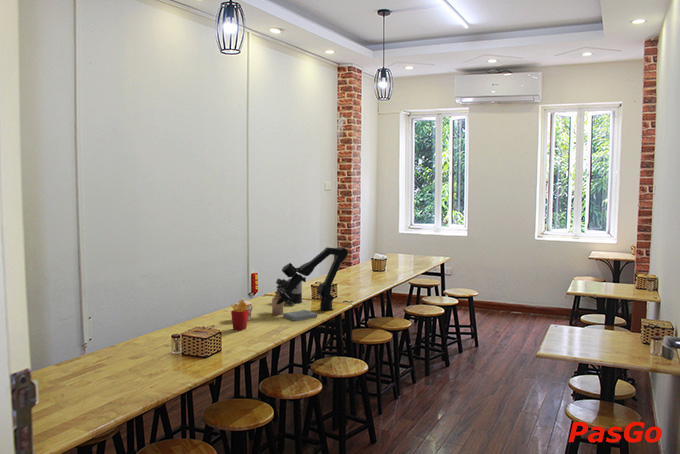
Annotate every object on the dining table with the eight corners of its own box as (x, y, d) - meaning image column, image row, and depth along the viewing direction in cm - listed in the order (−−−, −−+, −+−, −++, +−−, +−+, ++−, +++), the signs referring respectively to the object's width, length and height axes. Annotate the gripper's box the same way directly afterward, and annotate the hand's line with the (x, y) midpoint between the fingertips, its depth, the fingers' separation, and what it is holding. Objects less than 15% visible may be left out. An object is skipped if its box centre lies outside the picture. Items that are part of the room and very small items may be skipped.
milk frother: (300, 300, 354) (300, 277, 353) (306, 305, 339) (306, 281, 338) (278, 301, 350) (279, 278, 349) (284, 306, 335) (284, 282, 334)
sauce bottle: (279, 312, 321) (279, 290, 320) (285, 314, 316) (285, 291, 315) (269, 313, 317) (270, 291, 316) (276, 315, 312) (276, 293, 311)
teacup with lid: (244, 322, 296) (244, 301, 296) (231, 319, 301) (231, 299, 300) (258, 317, 307) (258, 297, 306) (245, 315, 311) (245, 295, 310)
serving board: (304, 313, 319) (304, 309, 319) (317, 317, 310) (317, 313, 310) (283, 316, 310) (283, 313, 309) (295, 321, 300) (295, 317, 300)
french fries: (230, 330, 280) (230, 301, 279) (239, 326, 288) (239, 298, 287) (245, 332, 277) (245, 302, 276) (253, 328, 285) (253, 299, 283)
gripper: (279, 271, 325) (261, 290, 321) (289, 276, 308) (270, 296, 304) (292, 283, 329) (274, 302, 325) (302, 289, 311) (283, 309, 308)
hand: (275, 302), depth 316 cm, fingers open, 7 cm apart
